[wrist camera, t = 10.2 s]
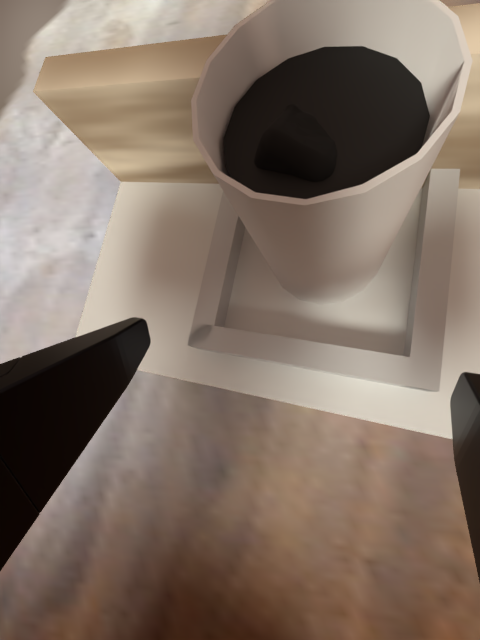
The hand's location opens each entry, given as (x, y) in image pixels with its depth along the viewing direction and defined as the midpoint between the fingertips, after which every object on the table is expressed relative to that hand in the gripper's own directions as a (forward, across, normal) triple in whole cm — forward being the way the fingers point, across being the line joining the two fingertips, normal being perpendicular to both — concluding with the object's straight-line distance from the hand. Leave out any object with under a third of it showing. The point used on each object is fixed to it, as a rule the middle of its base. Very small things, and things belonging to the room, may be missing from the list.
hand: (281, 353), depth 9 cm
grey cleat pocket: (+10, +3, +3) cm, 11 cm away
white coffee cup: (+10, 0, +1) cm, 10 cm away
